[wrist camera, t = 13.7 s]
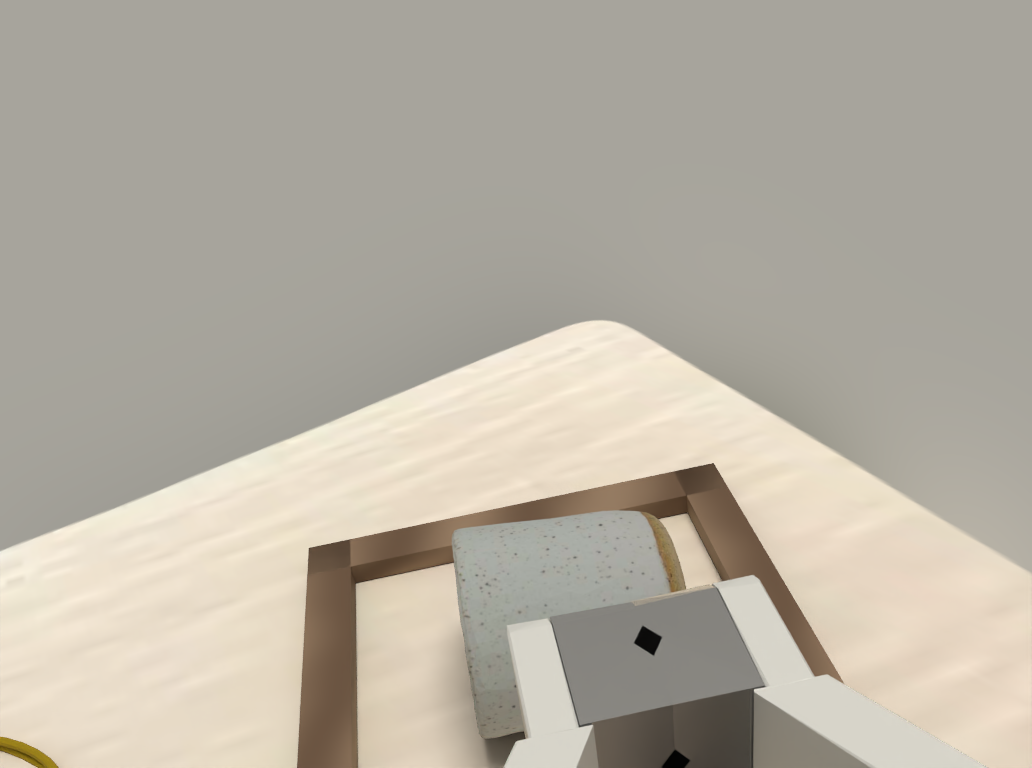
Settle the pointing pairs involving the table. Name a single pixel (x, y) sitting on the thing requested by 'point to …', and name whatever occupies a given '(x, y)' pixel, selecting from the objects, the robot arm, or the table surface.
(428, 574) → the table surface
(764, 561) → the frame
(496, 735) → the ceramic mug
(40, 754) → the extension cord
